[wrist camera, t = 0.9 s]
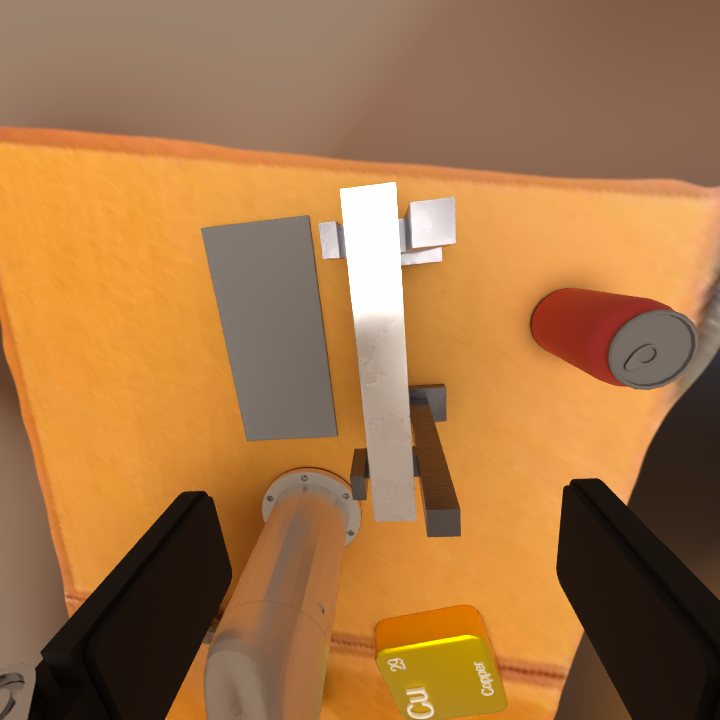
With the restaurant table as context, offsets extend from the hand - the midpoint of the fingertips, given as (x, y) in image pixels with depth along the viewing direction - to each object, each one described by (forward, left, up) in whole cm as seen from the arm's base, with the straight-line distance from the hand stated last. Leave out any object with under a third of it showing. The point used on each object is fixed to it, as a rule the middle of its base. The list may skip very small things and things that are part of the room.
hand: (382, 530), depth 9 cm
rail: (0, 0, -16) cm, 16 cm away
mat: (0, +12, -28) cm, 30 cm away
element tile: (-48, -4, -28) cm, 55 cm away
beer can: (-1, -18, -28) cm, 33 cm away
